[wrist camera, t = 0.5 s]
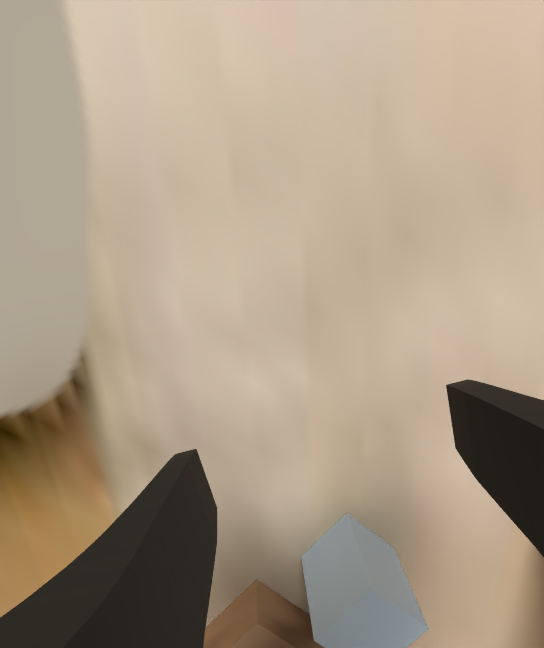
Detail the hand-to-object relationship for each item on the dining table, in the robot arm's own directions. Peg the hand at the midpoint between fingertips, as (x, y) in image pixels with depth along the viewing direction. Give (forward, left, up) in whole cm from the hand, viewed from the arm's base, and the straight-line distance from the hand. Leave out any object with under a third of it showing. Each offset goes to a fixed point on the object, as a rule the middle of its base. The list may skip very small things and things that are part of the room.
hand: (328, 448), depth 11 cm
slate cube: (-11, +8, -10) cm, 17 cm away
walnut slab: (-11, +16, -10) cm, 22 cm away
